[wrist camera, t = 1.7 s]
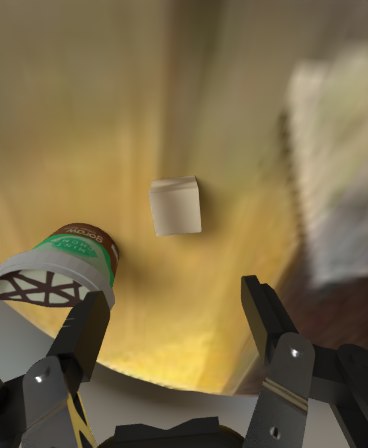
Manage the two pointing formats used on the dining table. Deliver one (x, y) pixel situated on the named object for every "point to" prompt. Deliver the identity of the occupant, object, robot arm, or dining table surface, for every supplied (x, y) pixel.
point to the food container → (62, 268)
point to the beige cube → (175, 206)
